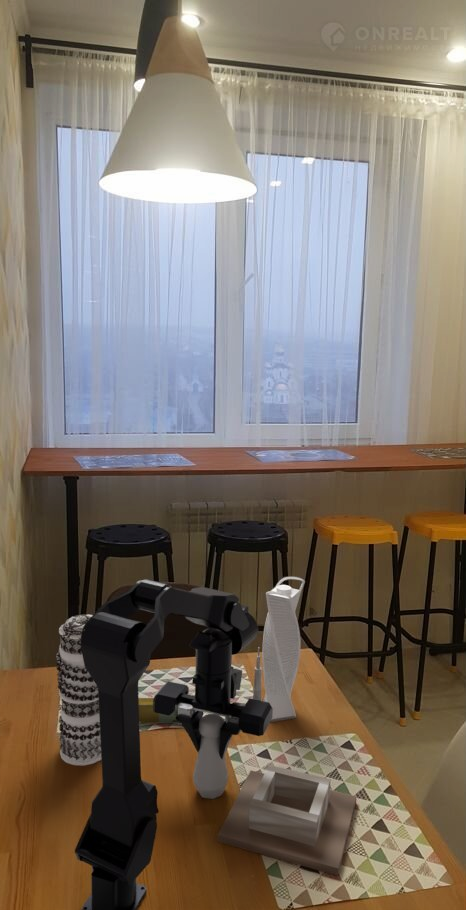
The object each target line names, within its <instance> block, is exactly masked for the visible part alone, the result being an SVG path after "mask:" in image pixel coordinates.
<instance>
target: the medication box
mask: <svg viewBox="0 0 466 910" xmlns="http://www.w3.org/2000/svg"><path fill="white" fill-rule="evenodd" d="M153 699H154V697H139V723H149V724H150V723H154V724H155V723H156V724H157V723H158V724H159V723H161V724H181V723H180V722H177V721H176V716H177V715H178V708H177V705H175V711H174V712H173V713H172V714H171V715H169V716H168V715H164V714H159V713H155V712H154V711H153Z"/></svg>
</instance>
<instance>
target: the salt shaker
mask: <svg viewBox="0 0 466 910" xmlns="http://www.w3.org/2000/svg"><path fill="white" fill-rule="evenodd" d="M225 721H226V720H225V719H224V717H223V716H220V715H216V714H211V713H207V714H205V715H203V717H202V718H201V719H200V721H199V731H200V734H201V735H202V737H201V741H200V750H199V752H197V757H196V761H195V766H194V771H193V774H192V781H193V784H194V786H195V788H196V790H197V791H198V794H199V795H200V796H201V798H205V799H211V800H215V799H216V798H218V797H221V796H222V795H223V793H224V791H225V789H226V788H227V785H228V782H229V774H228V768H227V760H226V757H225V756H226V755H225V756H224V757H223V759H221V757H220V755H219V744H220V729H221V727H222V726H223V724H224V722H225Z"/></svg>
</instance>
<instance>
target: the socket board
mask: <svg viewBox="0 0 466 910" xmlns="http://www.w3.org/2000/svg"><path fill="white" fill-rule="evenodd" d="M356 804H357V795H353V794H349V793H345V792H340V791H336V790H333V789H331V779H330V778H328V777H323V776H319V775H314V774H310V773H306V772H301V771H297V770H294V769H293V770H292V769H289V768H284V767H281V766H276V765H272V764H268V766H267V767H266V769H265V771H264V772H259V771H254V770H249V773H248V775H247V776H246V779H245V780H244V782H243V785H242V786H241V789H240V790H239V792H238V794H237V795H236V798H235V801H234V802H233V804H232V806H231V808H230V810H229V812H228V814H227V816H226V818H225V820H224V821H223V824H222V825H221V828H220V829H219V832H218V833H217V842H218V843H221V844H225V845H228V846H231V847H236V848H238V849H241V850H242V849H243V850H245V851H249V852H251V853H252V852H253V853H256V854H259V855H262V856H266V857H270V858H274V859H278V860H282V861H284V862H288V863H292V864H294V865H298V866H303V867H305V868H310V869H313V870H316V871H319V872H323V873H326V874H330V875H333V876H336V877H338V876H339V875H340V874H339V873H340V869H341V865H342V862H343V857H344V854H345V848H346V845H347V841H348V838H349V837H348V836H349V833H350V828H351V824H352V821H353V817H354V813H355V808H356Z"/></svg>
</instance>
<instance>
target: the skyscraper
mask: <svg viewBox="0 0 466 910" xmlns="http://www.w3.org/2000/svg"><path fill="white" fill-rule="evenodd" d="M288 580H297V581H301V585H300V587H299V589H296V588H292V587H291V586H290V585H287V584H281V583H283V582H284V581H288ZM305 583H306V581H305V579H303V578H301V577H299V576H284V577H283V578H281V579H280V580H279V581H278V582H277V583H276V585H275V586H274V587H273V588H272V589H271V590H270V591H266V592H265V598H266V604H267V605H266V606H267V610H268V612H267V615H266V619H265V622H264V628H263V636H262V637H263V638H262V653H261V655H262V656H261V655H260V650H261V649H260V648H261V647H257V655H256V666H254V679H253V681H254V682H253V688H252V690H253V692H252V693H253V694H252V695H253V697H252V699H255V700H259V701H264V702H269V703H270V705H271V707H272V708H273V715H272V719H271V721H270V723H273V722H274V723H275V722H280V721H285V720H292V719H296V718H297V714H296V711H295V707H294V705H293V702H292V697H291V695H292V690H293V687H294V684H295V681H296V677H297V674H298V669H299V664H300V657H301V633H300V626H299V622H298V618H297V614H296V610H297V606H298V604H299V600H300V596H301V594H302V590H303V588H304V586H305ZM261 657H262V660H261ZM261 661H262V667H261ZM262 673H263V682H264V683H263V684H264V691H265V695H264V698H263V700H262Z"/></svg>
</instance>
